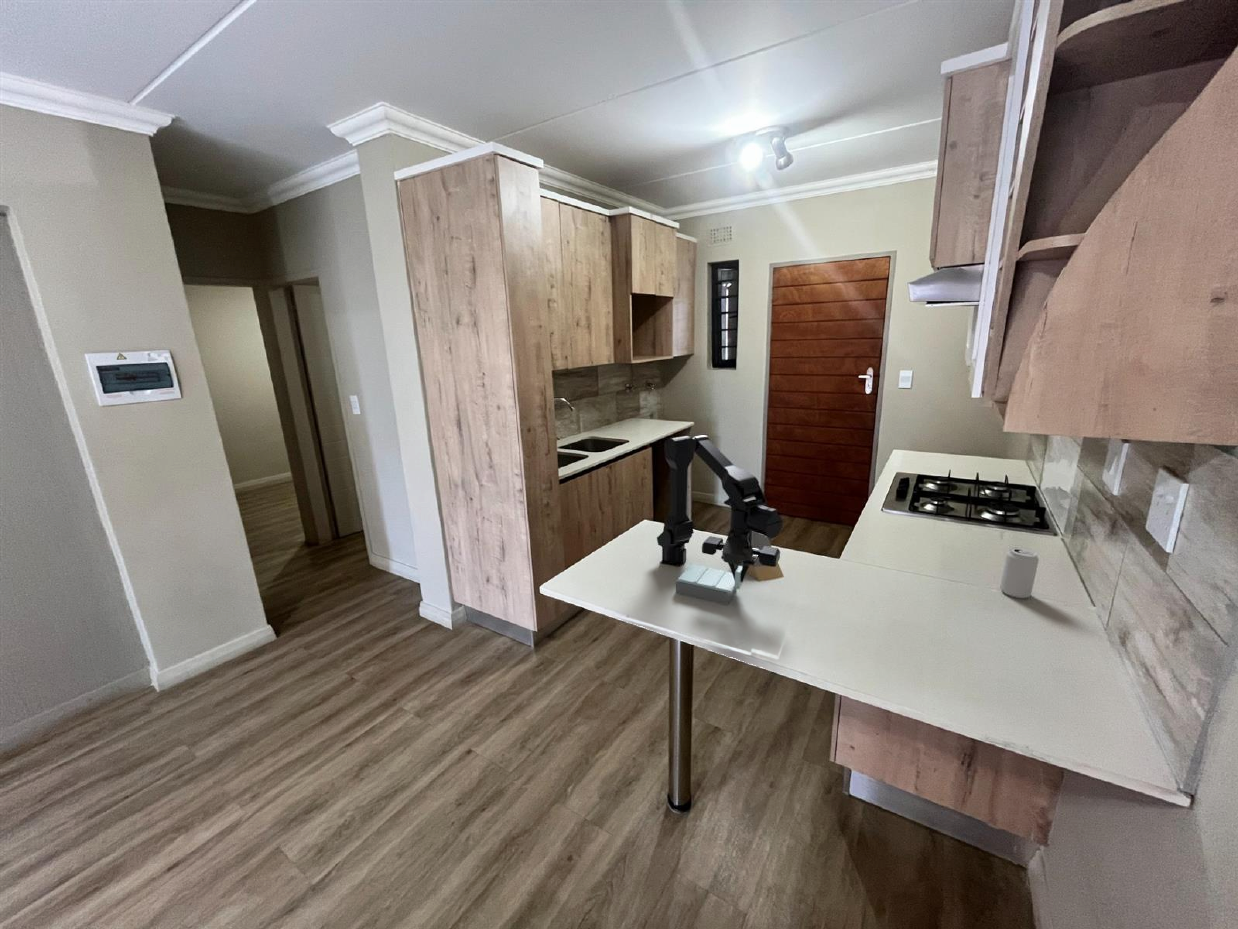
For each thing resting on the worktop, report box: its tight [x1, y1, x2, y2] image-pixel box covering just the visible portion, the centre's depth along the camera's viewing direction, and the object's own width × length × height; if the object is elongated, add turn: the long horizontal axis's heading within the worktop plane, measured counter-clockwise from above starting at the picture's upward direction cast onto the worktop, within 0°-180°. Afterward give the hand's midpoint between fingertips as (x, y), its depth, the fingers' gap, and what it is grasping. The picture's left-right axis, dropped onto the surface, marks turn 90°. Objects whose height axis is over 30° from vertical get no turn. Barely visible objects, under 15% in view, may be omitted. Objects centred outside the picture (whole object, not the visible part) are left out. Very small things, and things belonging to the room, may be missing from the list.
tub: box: [675, 579, 737, 606], centre depth 130 cm, size 14×9×4 cm, turn 61°
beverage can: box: [999, 546, 1040, 599], centre depth 124 cm, size 6×6×12 cm
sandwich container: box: [738, 531, 785, 582], centre depth 140 cm, size 9×15×15 cm, turn 17°
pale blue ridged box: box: [678, 563, 744, 593], centre depth 128 cm, size 16×9×5 cm, turn 61°
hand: (739, 581), depth 125 cm, fingers closed on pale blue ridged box
